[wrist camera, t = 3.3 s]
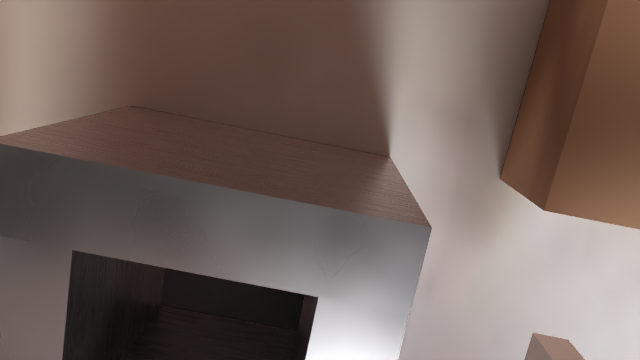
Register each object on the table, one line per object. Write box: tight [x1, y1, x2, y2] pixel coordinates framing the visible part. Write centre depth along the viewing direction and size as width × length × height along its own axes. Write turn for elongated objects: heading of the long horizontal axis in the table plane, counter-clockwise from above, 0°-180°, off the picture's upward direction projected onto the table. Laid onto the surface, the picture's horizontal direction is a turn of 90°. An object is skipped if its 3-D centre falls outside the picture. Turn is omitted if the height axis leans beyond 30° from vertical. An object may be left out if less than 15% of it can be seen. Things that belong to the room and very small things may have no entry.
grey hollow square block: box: [0, 106, 432, 360], centre depth 12 cm, size 7×7×6 cm
